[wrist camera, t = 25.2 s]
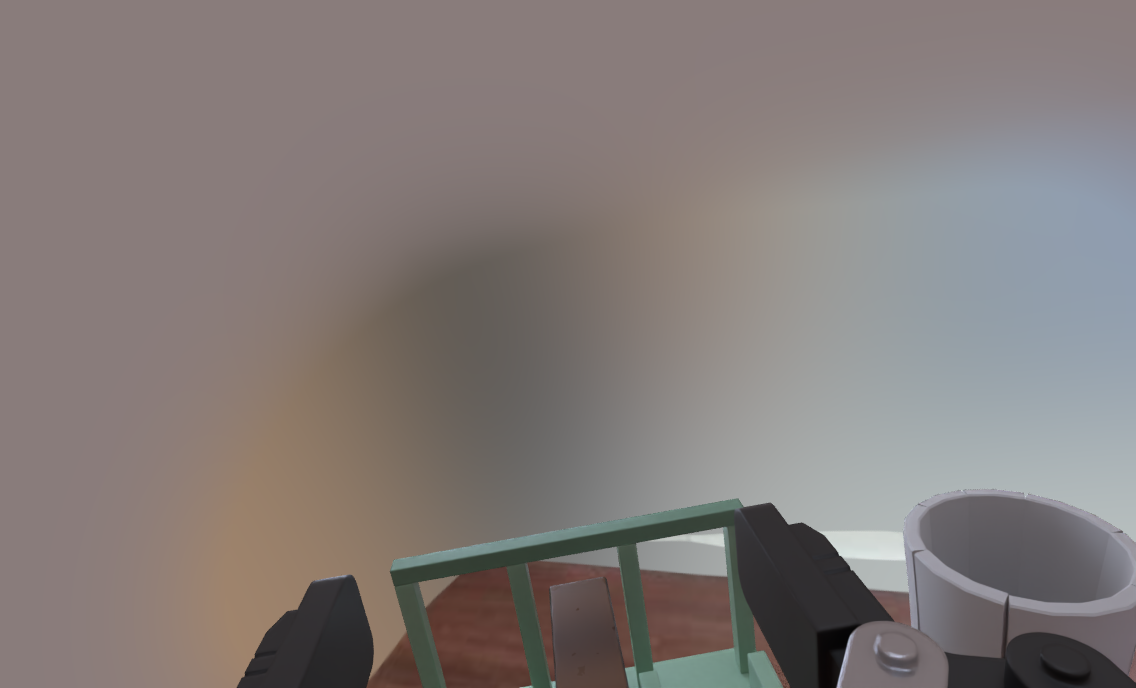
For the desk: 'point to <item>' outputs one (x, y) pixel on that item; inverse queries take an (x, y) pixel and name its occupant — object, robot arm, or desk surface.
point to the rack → (690, 684)
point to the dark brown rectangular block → (585, 636)
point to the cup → (1018, 574)
